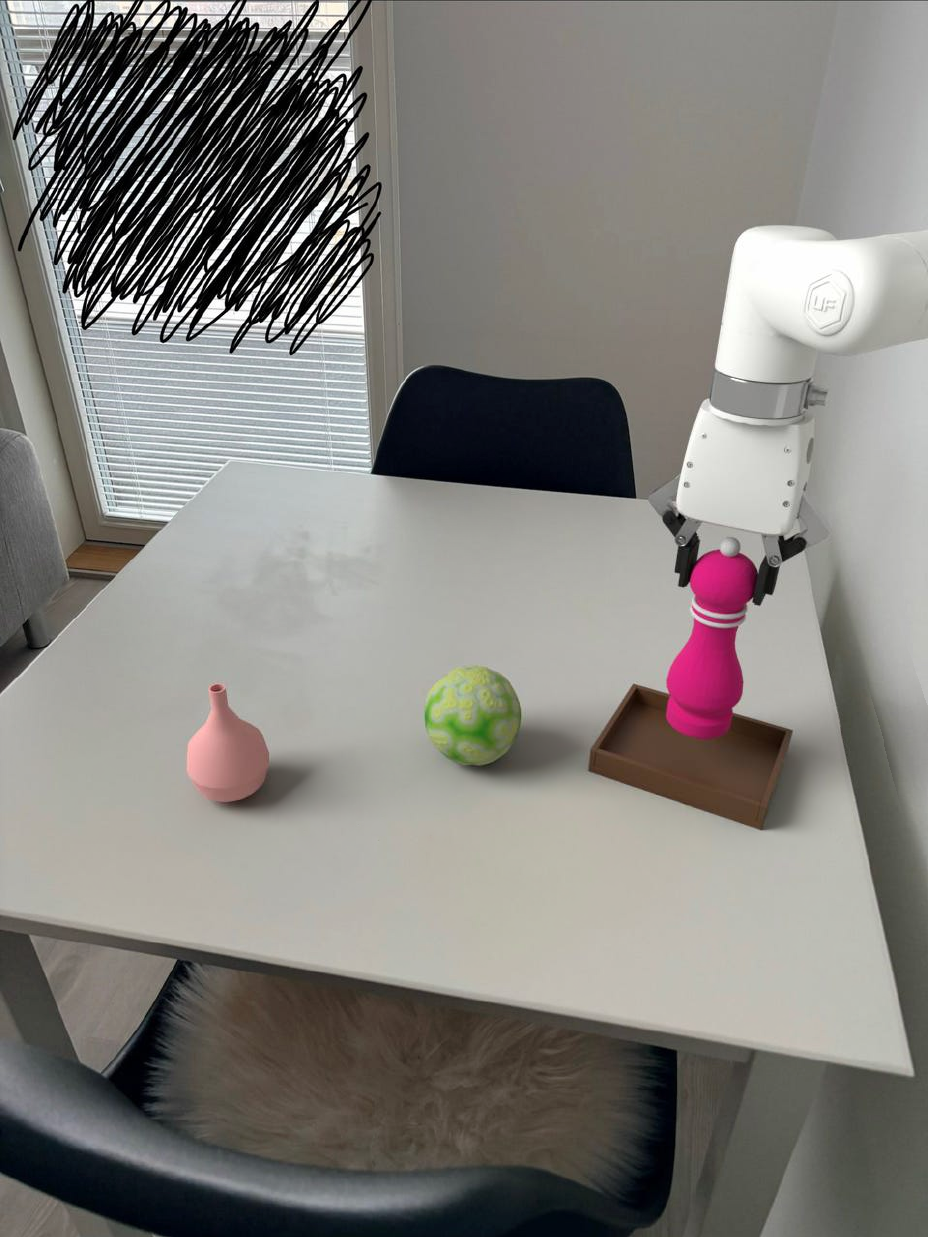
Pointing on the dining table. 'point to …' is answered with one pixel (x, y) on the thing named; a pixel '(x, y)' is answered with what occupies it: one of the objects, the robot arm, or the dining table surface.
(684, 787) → the tray
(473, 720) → the decorative ball
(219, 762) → the pink bulb vase
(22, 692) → the dining table surface
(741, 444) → the robot arm
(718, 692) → the pepper mill
